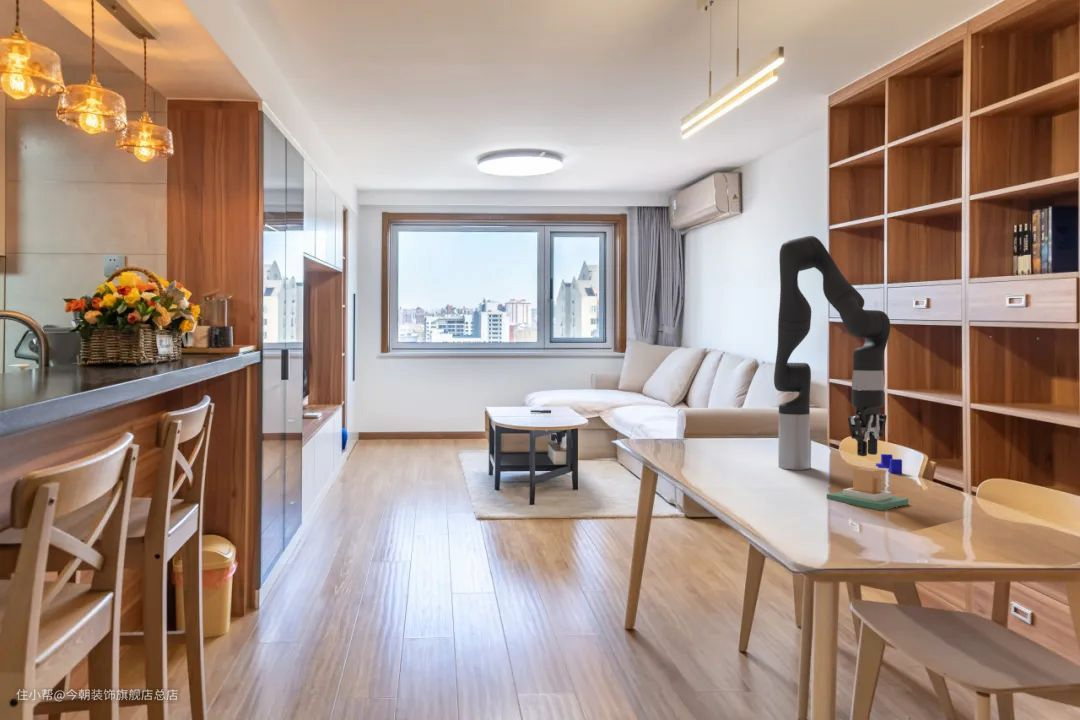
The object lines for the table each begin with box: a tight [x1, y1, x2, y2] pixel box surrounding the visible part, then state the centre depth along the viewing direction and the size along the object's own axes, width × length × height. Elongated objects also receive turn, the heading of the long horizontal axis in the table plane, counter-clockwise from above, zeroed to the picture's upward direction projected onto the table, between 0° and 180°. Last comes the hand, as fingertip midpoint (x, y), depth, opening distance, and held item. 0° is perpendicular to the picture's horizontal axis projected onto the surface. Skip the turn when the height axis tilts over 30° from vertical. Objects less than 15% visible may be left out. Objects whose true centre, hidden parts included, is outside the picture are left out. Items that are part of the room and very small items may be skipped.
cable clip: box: [875, 453, 903, 475], centre depth 224 cm, size 12×4×6 cm, turn 168°
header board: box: [826, 487, 909, 511], centre depth 183 cm, size 12×15×3 cm
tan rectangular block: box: [852, 466, 882, 494], centre depth 183 cm, size 4×6×7 cm
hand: (867, 454), depth 183 cm, fingers open, 4 cm apart
